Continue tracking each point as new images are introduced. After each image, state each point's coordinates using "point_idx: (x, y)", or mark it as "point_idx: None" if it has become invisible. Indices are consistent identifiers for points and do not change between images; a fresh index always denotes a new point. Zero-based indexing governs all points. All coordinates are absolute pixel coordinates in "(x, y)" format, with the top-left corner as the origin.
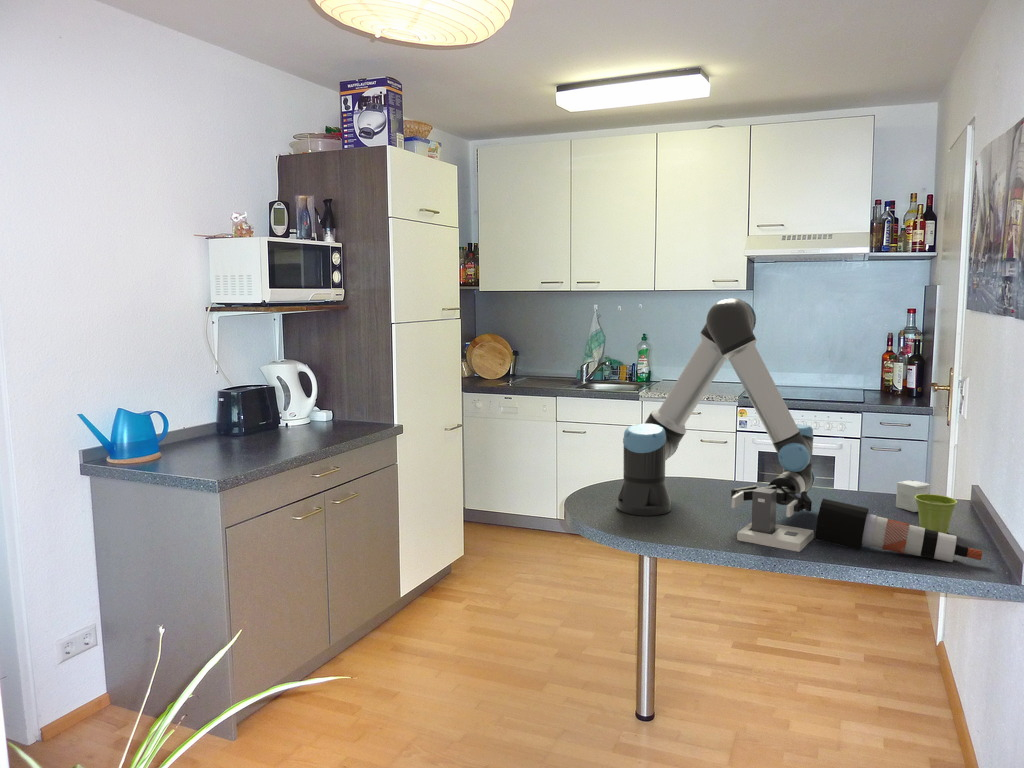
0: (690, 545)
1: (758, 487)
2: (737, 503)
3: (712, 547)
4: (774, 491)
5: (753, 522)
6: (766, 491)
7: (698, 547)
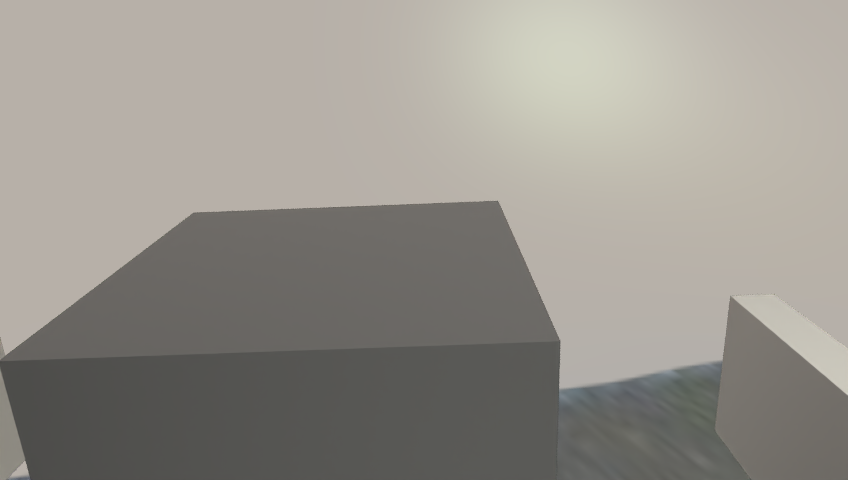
0: (709, 391)
1: (542, 323)
2: (781, 472)
3: (599, 418)
4: (102, 288)
5: None
6: (273, 237)
7: (654, 389)
